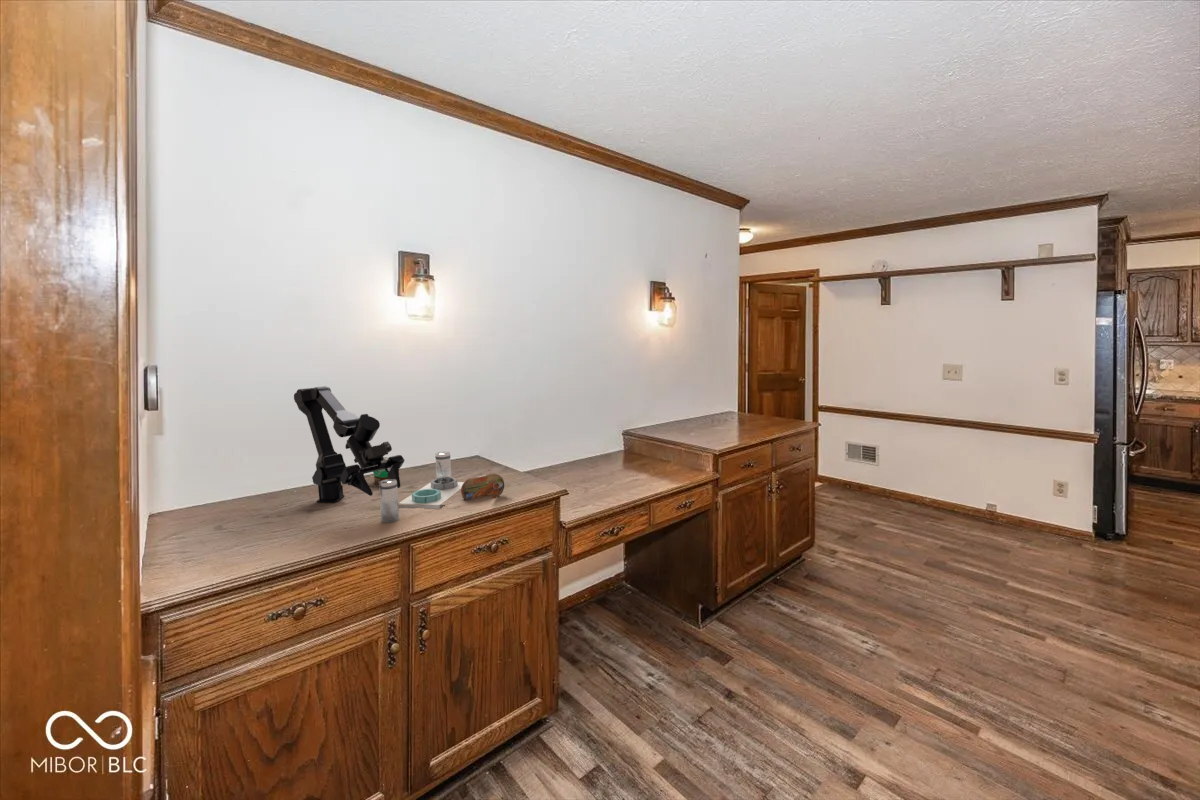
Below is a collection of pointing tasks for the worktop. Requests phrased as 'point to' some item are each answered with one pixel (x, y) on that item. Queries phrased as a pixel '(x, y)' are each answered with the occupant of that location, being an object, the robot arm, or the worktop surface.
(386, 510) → the cylinder
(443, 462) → the clear lidded jar
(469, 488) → the tin
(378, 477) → the food container
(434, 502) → the pallet
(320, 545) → the worktop surface
